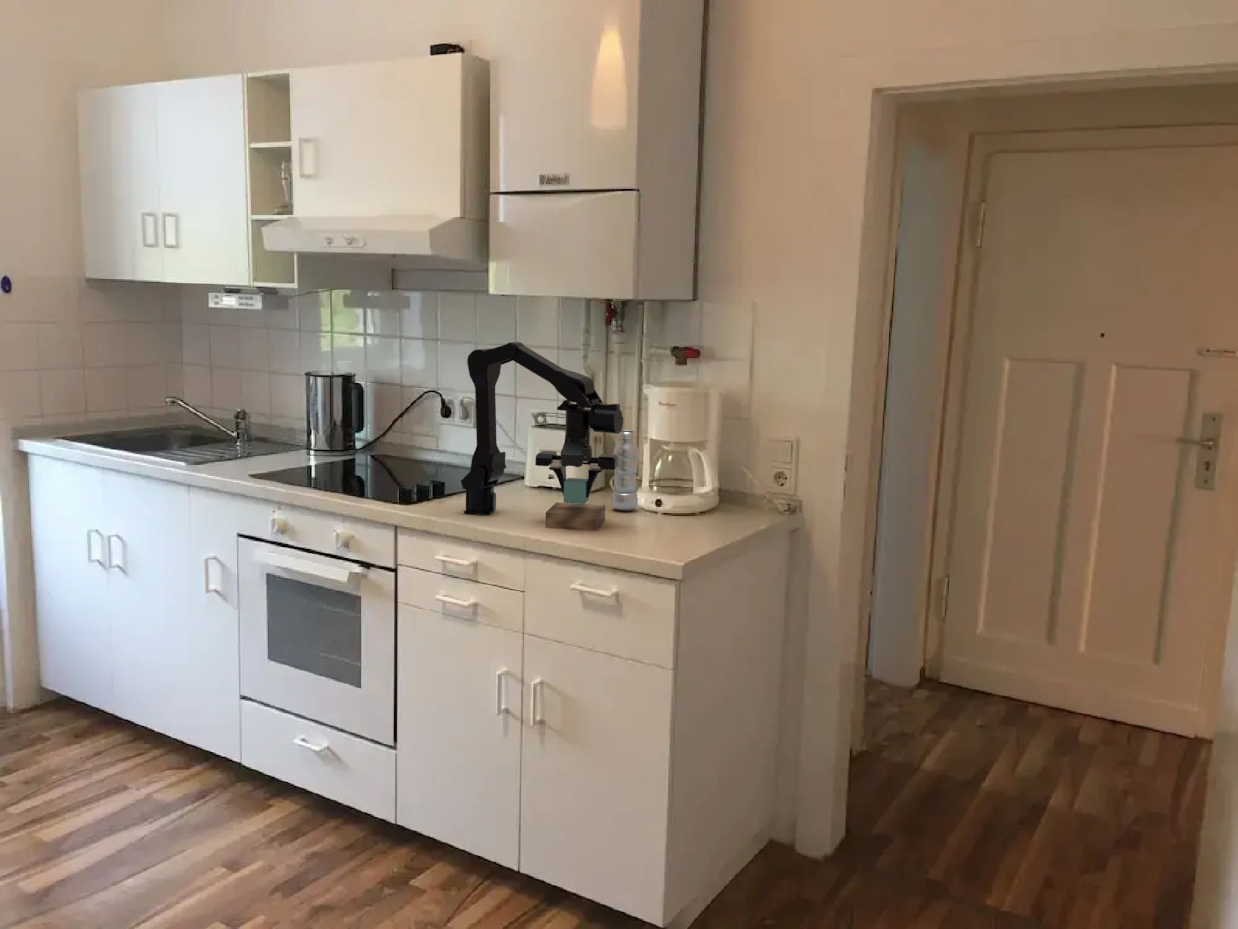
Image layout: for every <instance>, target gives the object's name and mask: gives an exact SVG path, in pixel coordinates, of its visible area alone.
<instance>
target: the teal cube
mask: <svg viewBox="0 0 1238 929" xmlns="http://www.w3.org/2000/svg"><path fill="white" fill-rule="evenodd" d="M587 484H588V478H581V477H580V478H579V477H578V478H577V477H576V478H575V477H567V478H566V480H565V481H564V495H563V503H575V504H587V502H588V501H589V500H590V499H589V498H590V496H589V497H587V495H586V491H587Z"/></svg>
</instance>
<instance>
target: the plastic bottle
mask: <svg viewBox="0 0 1238 929" xmlns="http://www.w3.org/2000/svg"><path fill="white" fill-rule="evenodd" d="M618 435H619V436H618V439H619V441H618V443H616V445H615V447H614V449H613V454H615V455H617V457H618V467H617V468H616V469H615V470H614V473H615V474H614V483H613V484H614V485H613V491H612V495H611V505H612V507H613V509H615V510H618V511H622V512H627V511H633V510H635V509H636V508H637V506H638V502H639V497H638V492H637V471H638V465H639V460H640V450H639V447H638V446H637V444H636V443H635V431H634V430H626V429H625V430H621V432H620V433H619V434H618Z"/></svg>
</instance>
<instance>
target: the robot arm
mask: <svg viewBox="0 0 1238 929" xmlns="http://www.w3.org/2000/svg"><path fill="white" fill-rule="evenodd" d="M511 362H515V363H516V364H518V365H520V366H521V367H524V368H525V369H526V370H528V371H529V372H531V373H533V374H535V375H537V376H538V377H540V378H541V379H543V380H545V381H546V382H548V383H549V384H551V385H552V386H553V387H554V388H555V390H556V391H557V393H559V394H560V395H561V396H562V397H563V398H564V400H563V401H562V403H561V404H559V405H558V406H557V408H556V409H557V410H558V411H564V412H565V435H564V443H563V446H562V448H561V451H560V454H558V453H557V451H556V450H555V451H554V450H541V451H540V452H538V453H537V454H536V455H535V462H534V463H535V466H538V467H548V470H550V471H553V472H554V474H555V475H556V478H557V479H558V483H559V486H560V489H561V492H562V496H564V481H565V480H566V479H567V469H566V468H567V467H575V468H580V467H582V466H583V465H586V466H587V465H589V466H590V468H589V469H588V477H587V479H588V484H587V491H586V495H587V497H589V498H590V494H591V491H592V489H593V486H594V484H595V481H596V478H597V477H598V474H599V473H602V472H603V471H604V470H607V471H608V470H610V471H613V470H614V471H615V469H616V468H617V467H618V457H617V455H615V454H614V453H613V454H609V453H601V454H600V455H599V456H598V457H597V456H593V449H592V445H590V444H591V442H590V441H591V429H592V431H593V432H594V433H603V434H604V433H605V434H618V435H619V433H620V432H621V431H622V429H623V425H624V417H623V411H622V410H621V408H620V407H621V405H620V403H604V402H603V400H602V399H601V397H600V396H599V394H598V392H597V391H596V389H595V384H594V381H593V379H592V378H590V377H589V376H587V375H584V374H582V373H579V372H575V371H573V370H570V369H569V370H568V369H565V368H563V367H561V366H559V365H558V364H556V363H554V362H553V361H551V360H549V359H547V358H546V357H544V356H543V355H541V354H539V353H537V352H536V351H534V350H532V349H530V348H529V347H527V346H525V344H524V343H522V342H520V341H513V342H512V341H511V342H508V343H506V344H503V345H501V346H497V347H493V348H479V349H473V350H472V351H471V352H470V353H469V354H468V355H467V359H466V364H467V368H468V369H467V370H468V375H469V378H470V379H471V381H472V383H473V386H474V390H475V391H474V392H475V396H474V397H475V398H474V400H475V428H476V430H475V431H476V432H475V433H476V436H475V437H476V446H475V449H474V452H473V455H472V458H471V461H470V463H471V464H470V469H469V470H470V471H469V472H468V473H467V474H466V475H465V476H464V477H463V478H462V479H461V480H460V483H461V487H462V489H463V490H465V510H464V511H463V514H469V515H486V516H489V515H491V514H493V513H494V512H495V511H496V510H497V493H496V492H495V486H497V484H498V482H499V479H501V477H502V476H503V475H504V472H505V469H507V465H506V456H507V454H506V452H505V451H500V449H499V447H498V445H497V413H496V412H497V409H496V408H497V407H496V404H497V403H496V385H497V382H498V380H499V377H500V376H501V368H502V365H505V364H507V363H511Z"/></svg>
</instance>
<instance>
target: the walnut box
mask: <svg viewBox="0 0 1238 929" xmlns="http://www.w3.org/2000/svg"><path fill="white" fill-rule="evenodd" d="M605 520H606V505H605V504H589V503H585V504H577V503H564V502H555V503H554V504H553V505H552V506H551V507H550V508H549V509H548V510H546V512H545V529H557V530H558V529H559V530H560V529H561V530H576V531H589V532H590V531H591V532H592V531H594V532H597V531H598V530H599V529H600V527H601V526H602V524H603V523H604V522H605Z"/></svg>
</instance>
